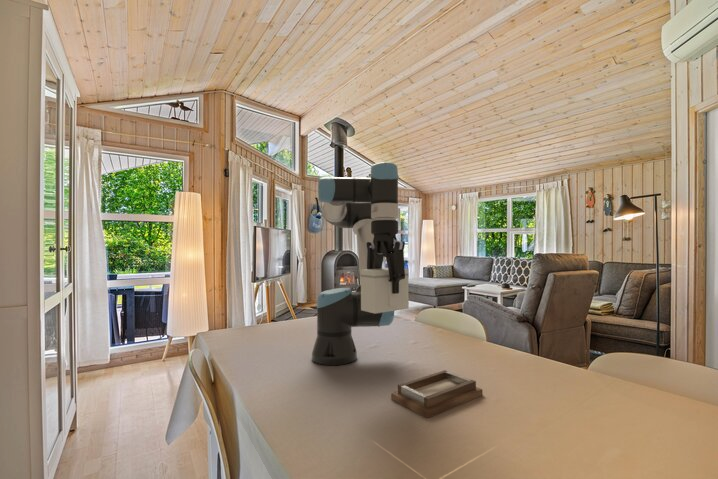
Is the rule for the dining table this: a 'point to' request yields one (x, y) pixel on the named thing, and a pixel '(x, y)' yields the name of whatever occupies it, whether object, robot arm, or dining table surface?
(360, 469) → the dining table surface
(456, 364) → the dining table surface
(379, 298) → the white lidded box
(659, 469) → the dining table surface
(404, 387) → the tray
